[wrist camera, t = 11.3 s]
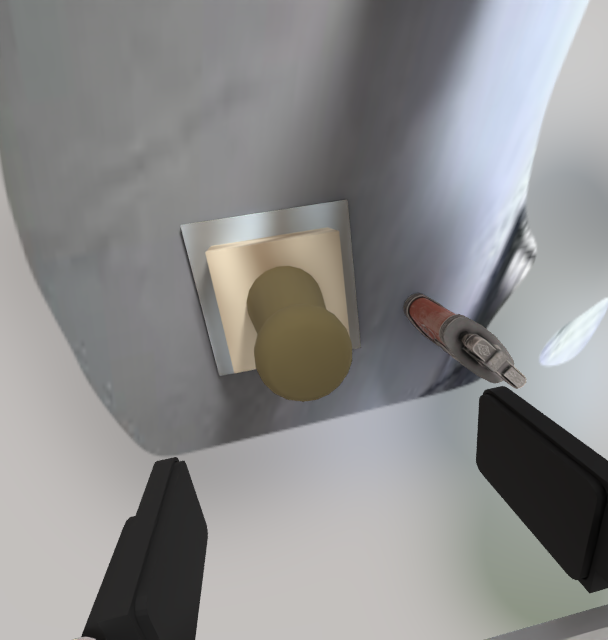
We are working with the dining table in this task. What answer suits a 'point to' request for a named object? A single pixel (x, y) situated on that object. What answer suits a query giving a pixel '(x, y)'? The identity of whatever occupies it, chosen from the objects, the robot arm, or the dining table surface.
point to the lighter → (463, 340)
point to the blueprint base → (262, 228)
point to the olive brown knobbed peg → (296, 336)
